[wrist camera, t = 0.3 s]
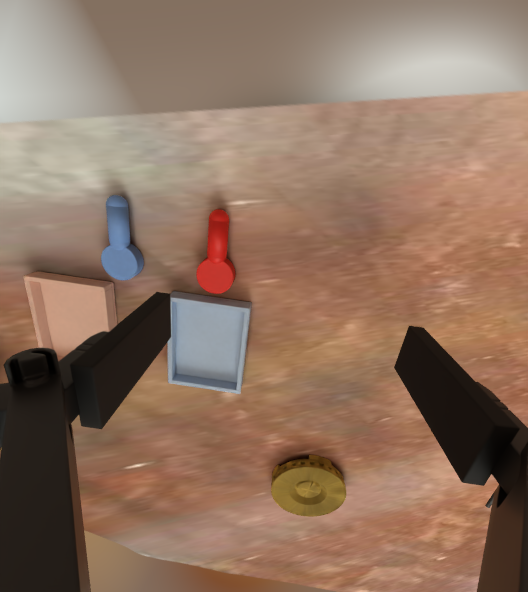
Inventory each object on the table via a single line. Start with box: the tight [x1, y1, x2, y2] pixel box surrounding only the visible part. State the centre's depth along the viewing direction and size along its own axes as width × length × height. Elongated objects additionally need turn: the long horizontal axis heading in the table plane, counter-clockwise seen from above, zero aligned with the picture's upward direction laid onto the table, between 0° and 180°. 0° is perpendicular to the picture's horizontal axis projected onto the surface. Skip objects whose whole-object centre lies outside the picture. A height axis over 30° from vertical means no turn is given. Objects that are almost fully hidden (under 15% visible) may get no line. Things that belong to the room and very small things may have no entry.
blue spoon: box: [101, 195, 144, 280], centre depth 32 cm, size 10×4×2 cm, turn 173°
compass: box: [271, 455, 346, 516], centre depth 46 cm, size 12×12×2 cm
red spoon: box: [197, 209, 235, 294], centre depth 32 cm, size 10×4×2 cm, turn 173°
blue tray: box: [168, 291, 252, 394], centre depth 37 cm, size 13×10×2 cm
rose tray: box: [24, 271, 117, 361], centre depth 37 cm, size 13×10×2 cm
